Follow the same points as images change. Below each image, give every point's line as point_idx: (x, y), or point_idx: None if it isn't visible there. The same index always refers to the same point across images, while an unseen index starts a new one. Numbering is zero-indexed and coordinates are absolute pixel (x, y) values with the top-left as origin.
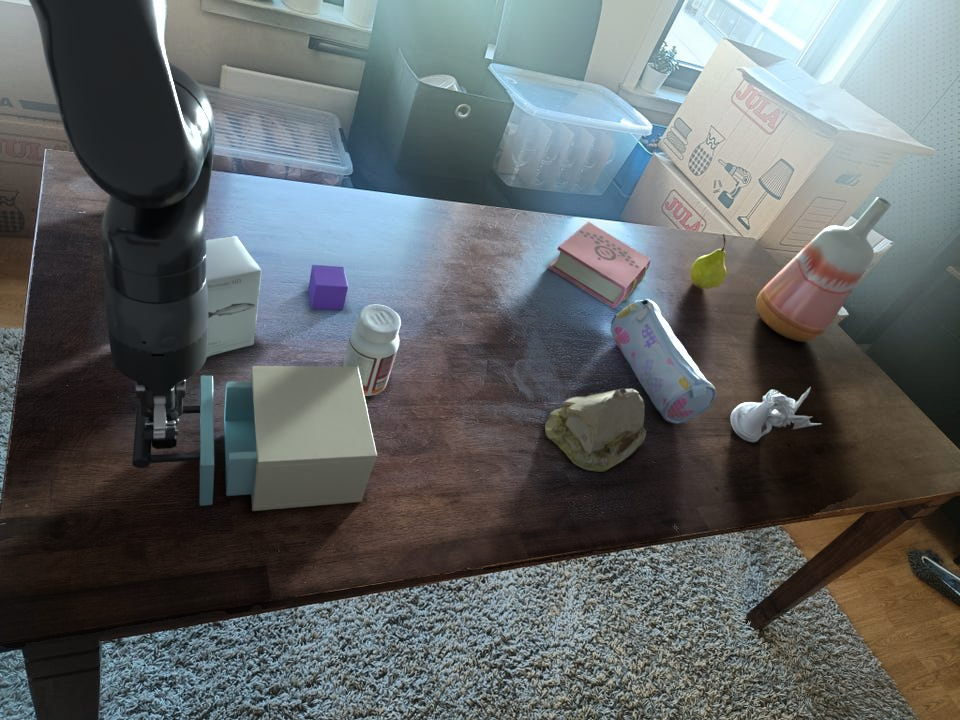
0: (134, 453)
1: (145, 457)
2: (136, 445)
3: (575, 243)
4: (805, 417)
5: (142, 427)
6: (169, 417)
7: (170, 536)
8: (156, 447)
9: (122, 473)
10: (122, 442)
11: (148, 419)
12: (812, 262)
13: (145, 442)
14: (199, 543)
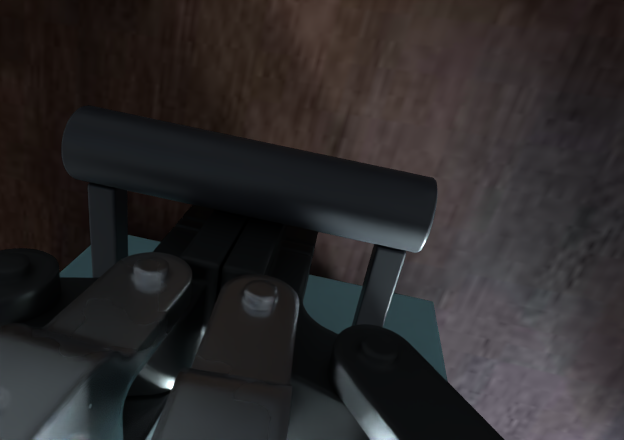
0: (110, 129)
1: (76, 173)
2: (151, 147)
3: None
4: None
5: (257, 193)
6: (129, 390)
7: (45, 134)
8: (192, 207)
9: (288, 35)
10: (426, 53)
11: (48, 323)
12: None
13: (161, 189)
14: (24, 196)
